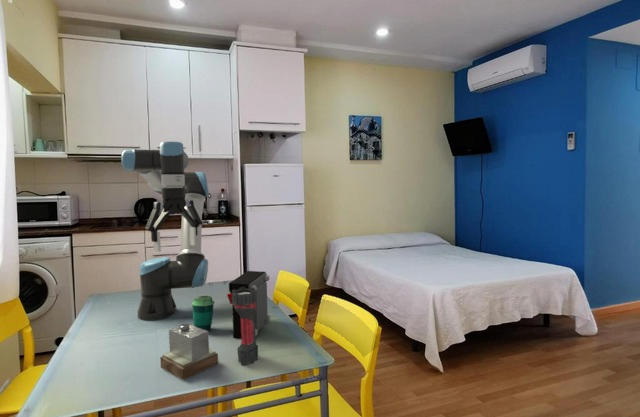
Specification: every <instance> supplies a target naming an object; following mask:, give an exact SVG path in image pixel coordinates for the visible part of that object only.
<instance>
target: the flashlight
mask: <svg viewBox="0 0 640 417" xmlns="http://www.w3.org/2000/svg"><path fill="white" fill-rule="evenodd" d="M256 301H257V295H256V291H255V289H254V288H252V287H251V288H250V289H247V288H246V289H245V287H241V288H240V289H239V290H235V289H234V290H233V291H232V304H233V306H234V308H235V310H236V311H237V312H238V313H239V315H240V317H241V336H242V337H241V338H242V339H241V343H240V344H239V346H238V347H237V358H238V360H237V361H238V363H240V365H241V366H246V365H248V364H249V365H254V363H255V361H258V358H259V345H258V344H257V340H256V336H255V316H254V314H255V308H256ZM232 304H231V305H232Z"/></svg>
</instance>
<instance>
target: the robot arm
mask: <svg viewBox="0 0 640 417" xmlns="http://www.w3.org/2000/svg"><path fill="white" fill-rule="evenodd" d="M120 160H121V166H122V167H123V170H124V171H129V172H134V171H135V172H137V173H138V174H139V175H140V176H141V177H142V178H143V179H144V180H145V181H146V182H147V185H148V186H149V188H150V189H151V190H152V191H153V192H155V193H157V194H159V195H161V198H162V201H161V202H158V201H154V202H153V205H152V207H153V208H152V211H151V212H150V215H149V218H148V220H147V223H146V225H145V227H144V230H145V231H147V232H149V233H150V236H151V242H152V243H153V246H154V247H153V250H154V252H161V251H162V249H161V248H162V247H161V231H159V229H160V228H161V227H162V226H163V224H164V222H166V219H167V218H168V217H169V216H170V215H181V229H180V252H179V253H178V254H177V255H176V260H171V259H170V257H168V256H163V257H157V258H152V259H148V260H146V261H144V262H142V263H141V264H140V267H139V268H140V270H139V277H140V278H139V280H140V293H141V294H140V297H141V298H140V301H139V305H138V309H137V311H136V313H137V318H138V319H139V318H140V319H139V320H142V319H143V320H142V321H155V320H156V321H157V320H162V319H166V318H170V317H171V316H173V315H175V314H176V313H177V310H178V309H177V305H176V302H175V300H174V297H173V294H172V289H173V290H174V289H175V290H176V289H188V288H189V289H191V288H192V289H195V288H200V287H203V286H205V285H206V283H207V278H208V271H209V260H208V259H207V258H205V254H203V253H202V225H203V222H202V219H203V218H202V217H203V214H202V212H203V203H204V202H205V201H206V198H208V197H209V196H210V193H209V192H210V191H209V185H208V184H209V183H208V179H207V175H206V173H205V172H204V171H203V172H202V171H201V172H200V171H186V172H185V170H186V168H187V167H188V166H189V164H190V163H189V162H190V159H189V156H188V154H187V153H186V152H185V149H184V144H183V143H182V142H181V141H162V142H161V143H160V144H159V149H134V148H133V149H124V150H123V151H122V153H121V159H120ZM161 209H163V210H162V211H161ZM160 211H161V214H160ZM159 214H160V215H159Z"/></svg>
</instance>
